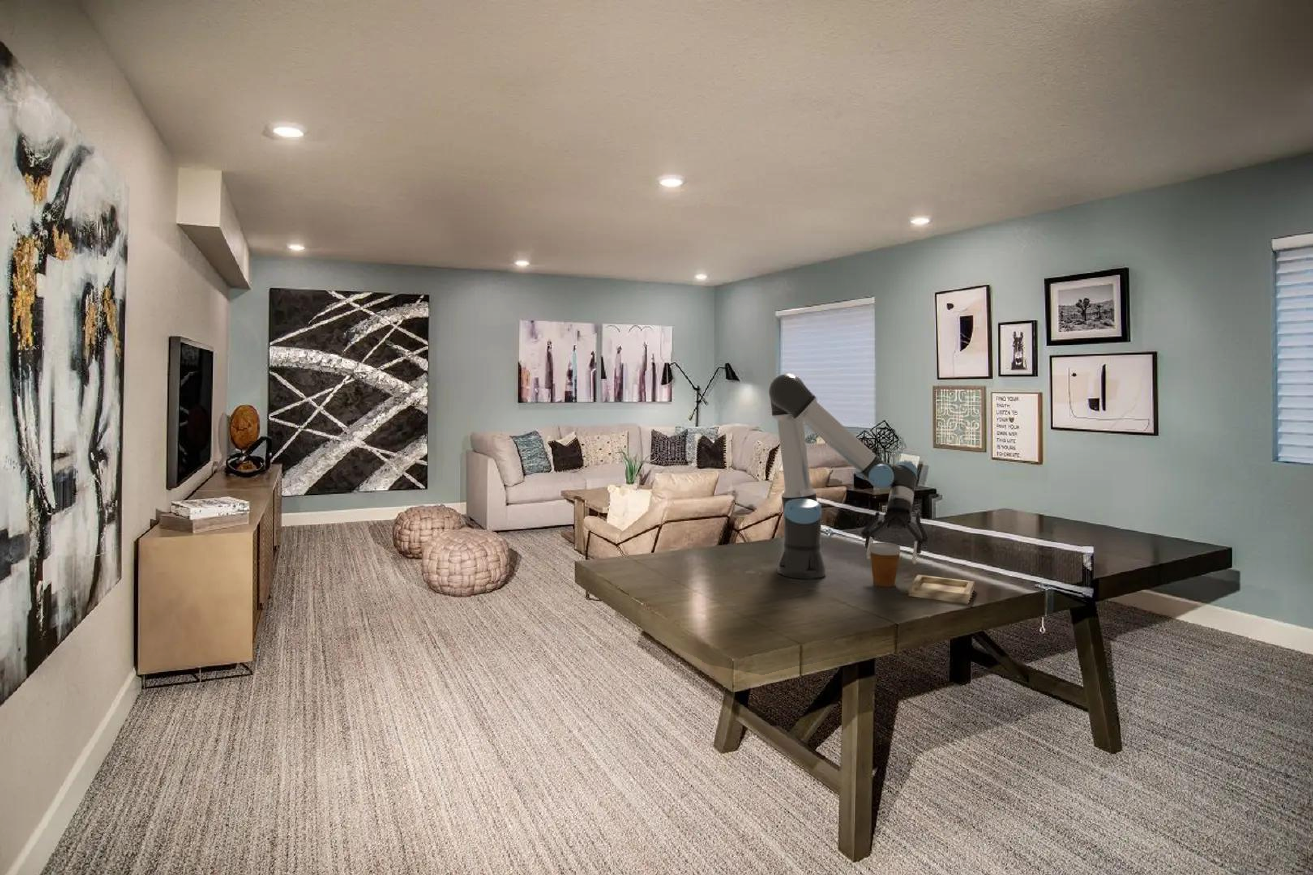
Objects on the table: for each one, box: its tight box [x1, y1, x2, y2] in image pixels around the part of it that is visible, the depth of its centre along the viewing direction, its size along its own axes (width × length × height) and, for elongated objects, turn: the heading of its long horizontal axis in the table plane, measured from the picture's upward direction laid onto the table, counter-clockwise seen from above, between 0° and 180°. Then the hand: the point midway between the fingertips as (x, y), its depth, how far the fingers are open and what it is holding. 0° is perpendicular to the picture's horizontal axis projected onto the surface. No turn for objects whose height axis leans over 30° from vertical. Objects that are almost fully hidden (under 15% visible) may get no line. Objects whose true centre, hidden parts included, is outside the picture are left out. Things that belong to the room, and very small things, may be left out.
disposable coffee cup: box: [869, 542, 902, 587], centre depth 227 cm, size 10×10×12 cm
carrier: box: [908, 574, 975, 605], centre depth 218 cm, size 16×16×3 cm
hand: (890, 559), depth 228 cm, fingers open, 13 cm apart
